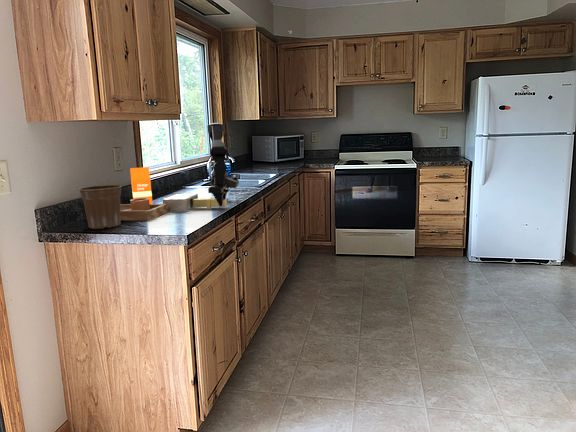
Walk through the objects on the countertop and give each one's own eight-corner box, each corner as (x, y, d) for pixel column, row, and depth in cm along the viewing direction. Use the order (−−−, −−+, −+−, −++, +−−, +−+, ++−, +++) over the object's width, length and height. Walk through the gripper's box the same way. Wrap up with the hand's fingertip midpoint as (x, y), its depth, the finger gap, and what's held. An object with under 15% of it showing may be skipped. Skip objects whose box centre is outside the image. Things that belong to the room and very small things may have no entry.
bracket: (142, 211, 213) (141, 197, 211) (154, 213, 208) (152, 198, 207) (109, 219, 198) (107, 204, 197) (121, 221, 194) (119, 205, 192)
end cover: (196, 206, 219) (196, 197, 218) (227, 206, 216) (227, 197, 215) (192, 208, 214) (192, 199, 213) (224, 208, 211) (223, 199, 210)
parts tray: (115, 212, 214) (114, 204, 213) (167, 212, 209) (167, 204, 208) (94, 220, 197) (93, 211, 196) (150, 220, 192) (149, 211, 192)
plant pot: (98, 222, 193) (93, 184, 190) (133, 221, 191) (129, 184, 187) (75, 230, 177) (69, 190, 174) (112, 230, 175) (107, 189, 172)
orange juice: (153, 208, 223) (149, 167, 219) (134, 209, 220) (130, 168, 216) (152, 205, 231) (148, 166, 227) (133, 207, 228) (129, 167, 224)
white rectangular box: (177, 205, 226) (176, 194, 225) (198, 205, 224) (197, 193, 223) (163, 211, 211) (162, 199, 210) (185, 211, 209) (184, 199, 208)
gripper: (230, 174, 200) (232, 208, 203) (241, 170, 218) (243, 201, 221) (206, 174, 202) (209, 209, 205) (219, 170, 220) (222, 202, 223)
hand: (222, 205), depth 214 cm, fingers closed on end cover, 3 cm apart
